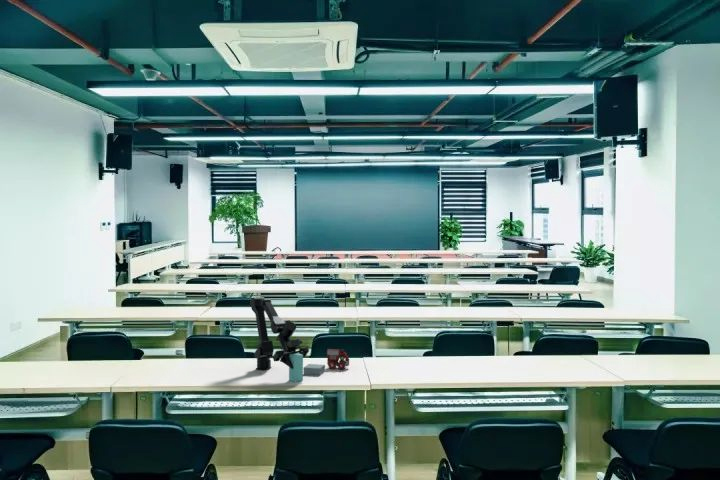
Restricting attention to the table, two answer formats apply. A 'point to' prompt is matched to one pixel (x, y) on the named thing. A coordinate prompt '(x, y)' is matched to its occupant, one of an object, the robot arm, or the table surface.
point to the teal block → (296, 367)
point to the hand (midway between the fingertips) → (297, 367)
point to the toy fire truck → (334, 357)
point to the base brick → (314, 369)
